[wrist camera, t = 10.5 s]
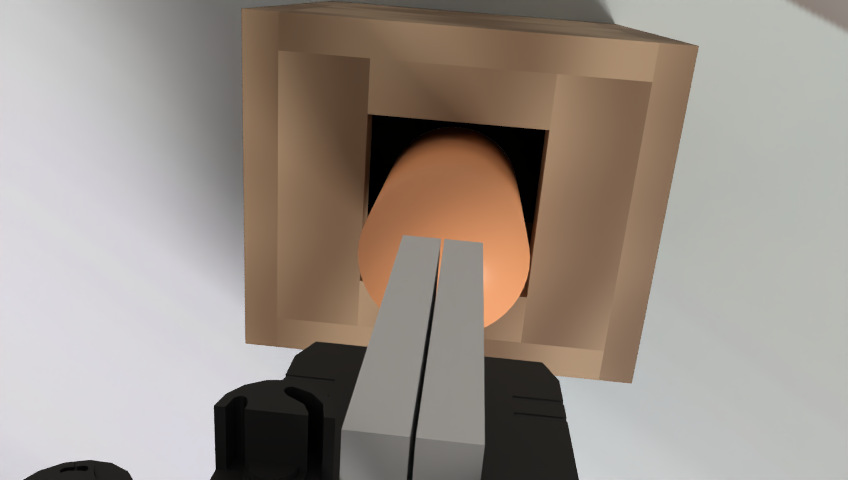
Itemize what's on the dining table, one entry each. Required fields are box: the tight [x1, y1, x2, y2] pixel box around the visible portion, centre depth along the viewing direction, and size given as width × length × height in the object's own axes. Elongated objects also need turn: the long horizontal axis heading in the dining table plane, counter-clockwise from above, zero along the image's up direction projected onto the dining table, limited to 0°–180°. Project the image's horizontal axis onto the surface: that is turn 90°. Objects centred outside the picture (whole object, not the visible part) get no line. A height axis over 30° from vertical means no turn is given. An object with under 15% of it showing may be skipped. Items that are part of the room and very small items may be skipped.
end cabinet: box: [241, 1, 699, 383], centre depth 26 cm, size 12×11×12 cm
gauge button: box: [358, 127, 530, 328], centre depth 19 cm, size 4×4×6 cm
